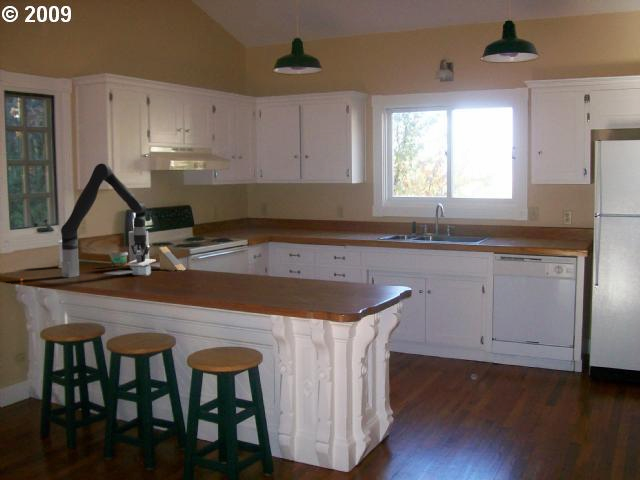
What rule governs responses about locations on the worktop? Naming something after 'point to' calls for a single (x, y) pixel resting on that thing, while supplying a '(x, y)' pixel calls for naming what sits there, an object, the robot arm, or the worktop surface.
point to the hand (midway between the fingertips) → (140, 261)
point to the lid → (140, 261)
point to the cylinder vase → (131, 242)
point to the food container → (118, 259)
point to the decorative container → (60, 253)
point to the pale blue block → (141, 270)
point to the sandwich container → (169, 260)
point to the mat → (119, 272)
